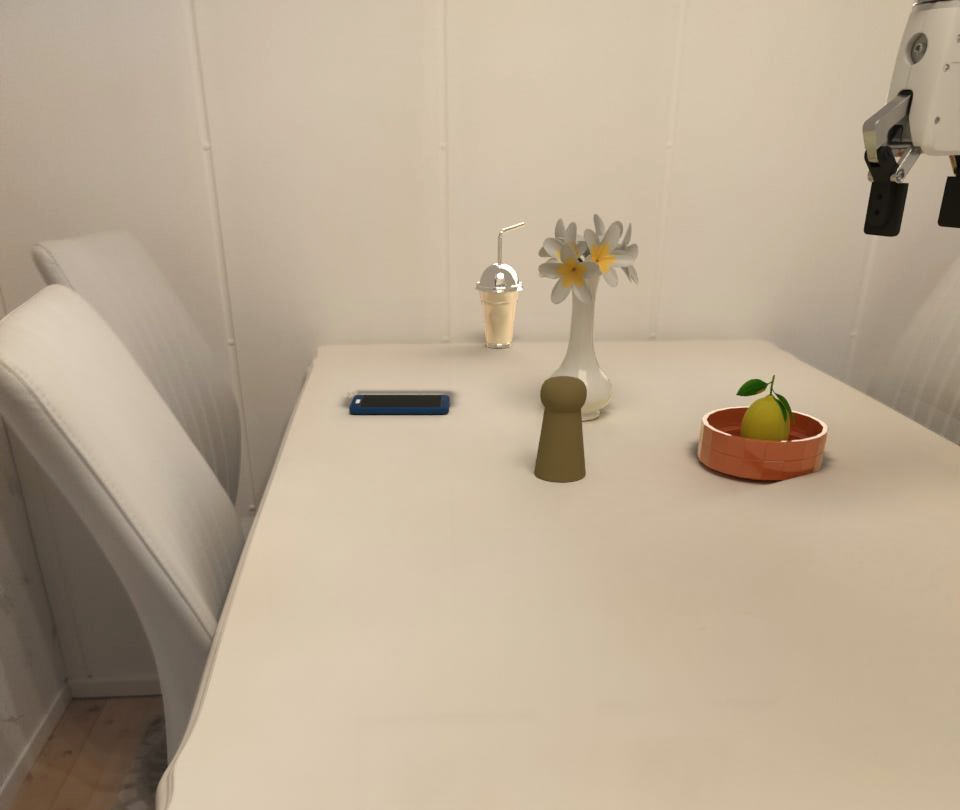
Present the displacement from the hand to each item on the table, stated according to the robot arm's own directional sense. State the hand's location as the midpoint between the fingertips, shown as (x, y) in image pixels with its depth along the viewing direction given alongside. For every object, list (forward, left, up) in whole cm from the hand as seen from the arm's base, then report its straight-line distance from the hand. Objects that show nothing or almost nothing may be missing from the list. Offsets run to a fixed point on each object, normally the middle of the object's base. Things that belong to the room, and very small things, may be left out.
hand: (918, 231), depth 79 cm
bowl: (-6, -19, -28) cm, 34 cm away
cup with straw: (-15, -89, -28) cm, 94 cm away
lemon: (-6, -19, -27) cm, 34 cm away
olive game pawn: (+16, -29, -28) cm, 43 cm away
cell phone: (+19, -63, -28) cm, 71 cm away
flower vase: (0, -46, -28) cm, 53 cm away
